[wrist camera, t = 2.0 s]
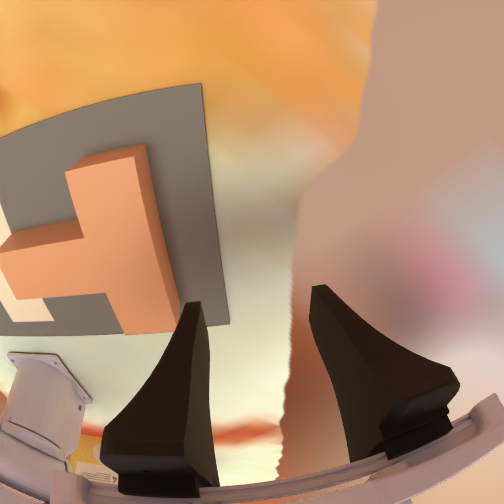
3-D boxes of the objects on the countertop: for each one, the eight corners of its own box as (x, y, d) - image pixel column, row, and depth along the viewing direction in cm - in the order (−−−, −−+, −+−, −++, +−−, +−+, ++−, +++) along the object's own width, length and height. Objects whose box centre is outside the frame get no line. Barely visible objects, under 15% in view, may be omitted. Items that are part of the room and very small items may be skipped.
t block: (180, 302, 22) (178, 331, 20) (51, 312, 21) (40, 337, 19) (145, 143, 16) (133, 156, 13) (-4, 183, 15) (-28, 201, 12)
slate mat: (229, 320, 25) (230, 324, 24) (-27, 332, 22) (-29, 334, 22) (201, 83, 15) (200, 83, 14) (-94, 193, 12) (-97, 195, 12)
